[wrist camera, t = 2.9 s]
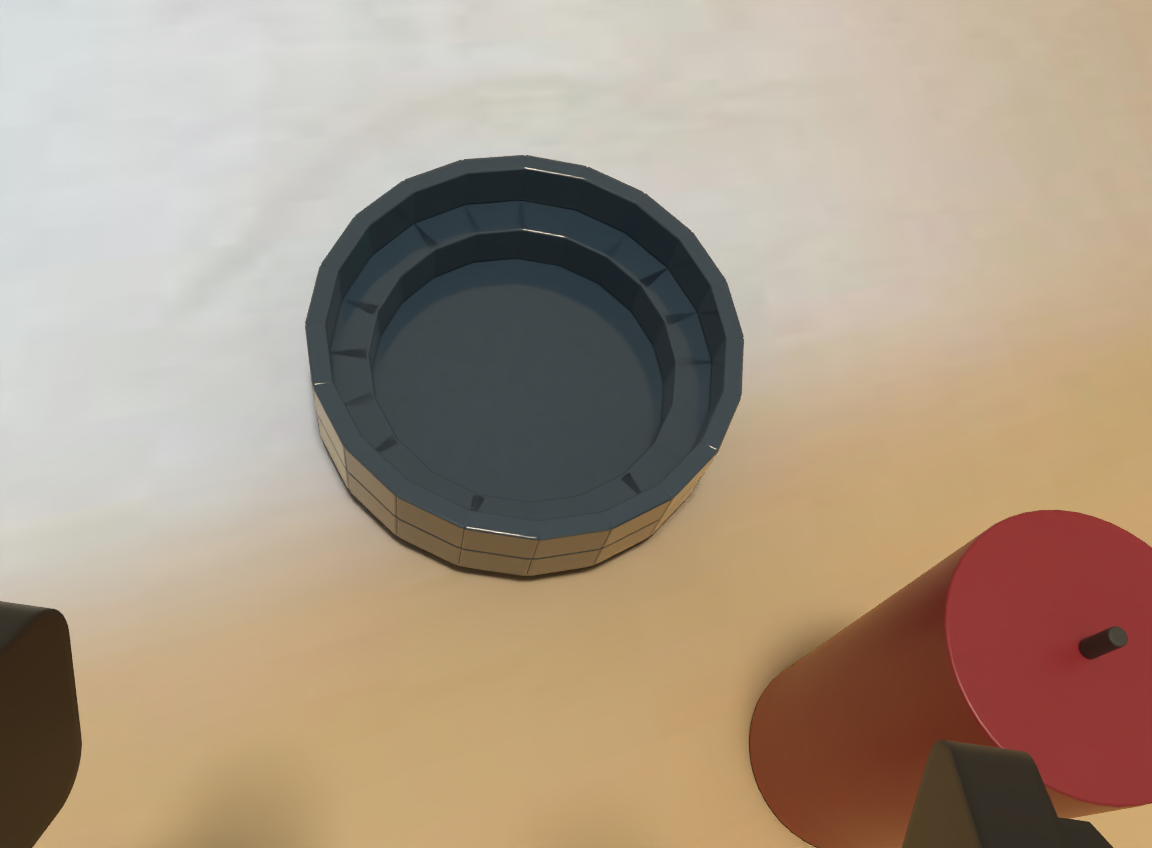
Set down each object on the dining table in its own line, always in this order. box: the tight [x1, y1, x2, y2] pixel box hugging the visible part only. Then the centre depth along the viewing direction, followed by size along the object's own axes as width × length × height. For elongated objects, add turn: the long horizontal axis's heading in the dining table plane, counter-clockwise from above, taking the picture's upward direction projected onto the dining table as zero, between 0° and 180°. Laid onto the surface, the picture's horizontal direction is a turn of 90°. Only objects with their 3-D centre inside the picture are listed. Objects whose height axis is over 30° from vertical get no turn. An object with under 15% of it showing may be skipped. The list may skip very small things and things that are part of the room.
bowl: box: [305, 155, 744, 576], centre depth 34 cm, size 13×13×4 cm
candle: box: [750, 510, 1152, 848], centre depth 26 cm, size 6×6×14 cm
